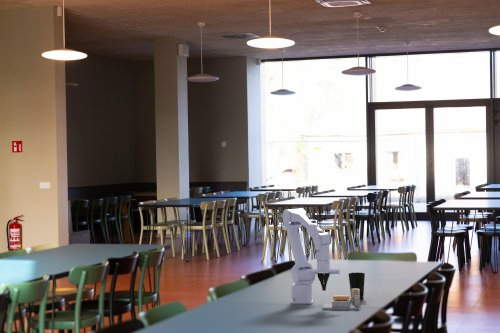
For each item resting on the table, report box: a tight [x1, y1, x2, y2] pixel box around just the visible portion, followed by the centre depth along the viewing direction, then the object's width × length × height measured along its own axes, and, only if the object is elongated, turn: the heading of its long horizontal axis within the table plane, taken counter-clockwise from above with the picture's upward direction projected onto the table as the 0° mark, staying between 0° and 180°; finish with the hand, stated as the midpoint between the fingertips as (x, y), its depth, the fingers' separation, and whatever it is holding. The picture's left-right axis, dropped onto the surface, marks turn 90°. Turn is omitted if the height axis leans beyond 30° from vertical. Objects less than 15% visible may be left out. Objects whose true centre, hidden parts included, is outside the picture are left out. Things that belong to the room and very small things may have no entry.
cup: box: [348, 272, 366, 301], centre depth 372 cm, size 8×8×12 cm
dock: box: [322, 296, 361, 311], centre depth 352 cm, size 16×10×5 cm, turn 80°
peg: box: [351, 289, 360, 304], centre depth 359 cm, size 4×4×7 cm
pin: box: [332, 295, 350, 301], centre depth 352 cm, size 7×2×2 cm, turn 80°
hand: (324, 290), depth 353 cm, fingers closed
